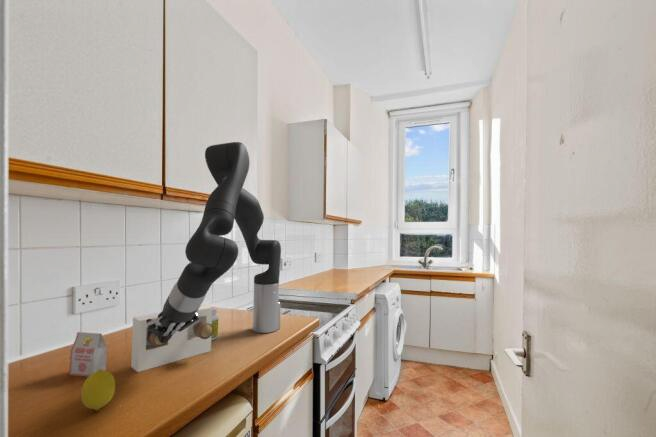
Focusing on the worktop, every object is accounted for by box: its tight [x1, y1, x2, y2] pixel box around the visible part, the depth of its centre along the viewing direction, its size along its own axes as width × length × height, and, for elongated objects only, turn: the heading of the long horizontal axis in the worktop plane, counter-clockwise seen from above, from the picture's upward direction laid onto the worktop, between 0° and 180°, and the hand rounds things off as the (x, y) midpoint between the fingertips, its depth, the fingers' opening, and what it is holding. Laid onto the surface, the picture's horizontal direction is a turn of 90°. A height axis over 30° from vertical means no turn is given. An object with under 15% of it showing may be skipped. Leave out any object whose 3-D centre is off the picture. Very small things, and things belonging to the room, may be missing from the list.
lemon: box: [80, 369, 116, 412], centre depth 64 cm, size 6×6×8 cm
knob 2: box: [193, 321, 214, 339], centre depth 91 cm, size 4×6×4 cm
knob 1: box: [148, 331, 167, 347], centre depth 85 cm, size 4×6×4 cm
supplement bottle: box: [211, 307, 219, 341], centre depth 107 cm, size 5×5×10 cm
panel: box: [130, 304, 213, 373], centre depth 90 cm, size 20×5×13 cm, turn 139°
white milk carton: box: [69, 331, 108, 378], centre depth 80 cm, size 4×7×10 cm, turn 81°
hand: (162, 339), depth 83 cm, fingers closed
